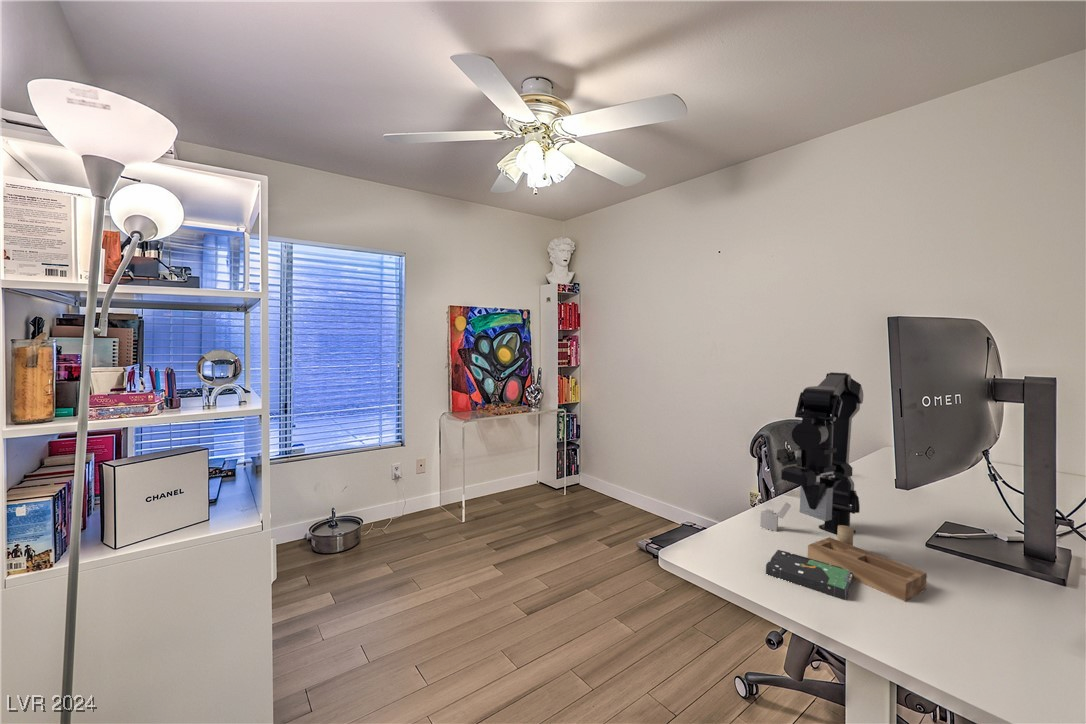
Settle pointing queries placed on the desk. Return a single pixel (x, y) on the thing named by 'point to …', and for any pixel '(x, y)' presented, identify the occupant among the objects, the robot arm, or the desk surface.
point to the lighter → (772, 517)
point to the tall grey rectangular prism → (818, 505)
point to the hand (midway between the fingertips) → (815, 508)
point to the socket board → (870, 568)
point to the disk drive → (811, 574)
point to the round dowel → (845, 534)
